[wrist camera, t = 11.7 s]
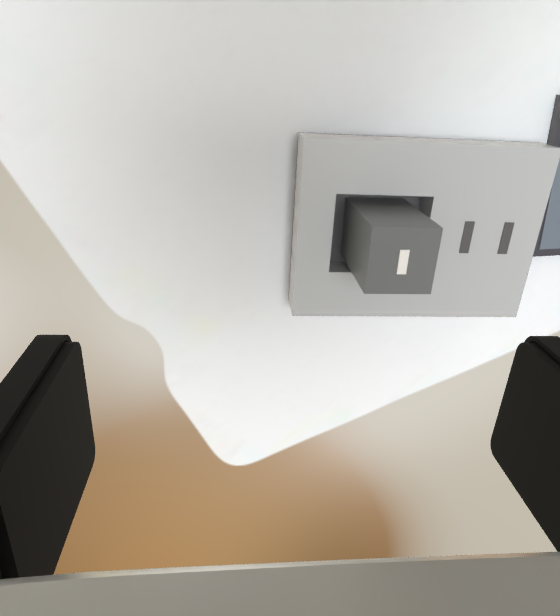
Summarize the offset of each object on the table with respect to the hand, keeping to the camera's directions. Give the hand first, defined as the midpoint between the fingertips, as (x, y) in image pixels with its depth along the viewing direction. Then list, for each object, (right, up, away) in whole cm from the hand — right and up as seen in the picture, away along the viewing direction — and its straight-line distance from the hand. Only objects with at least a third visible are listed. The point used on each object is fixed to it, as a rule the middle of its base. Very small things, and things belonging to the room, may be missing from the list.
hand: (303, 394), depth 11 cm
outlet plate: (+10, +8, +28) cm, 31 cm away
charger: (+7, +8, +28) cm, 29 cm away
